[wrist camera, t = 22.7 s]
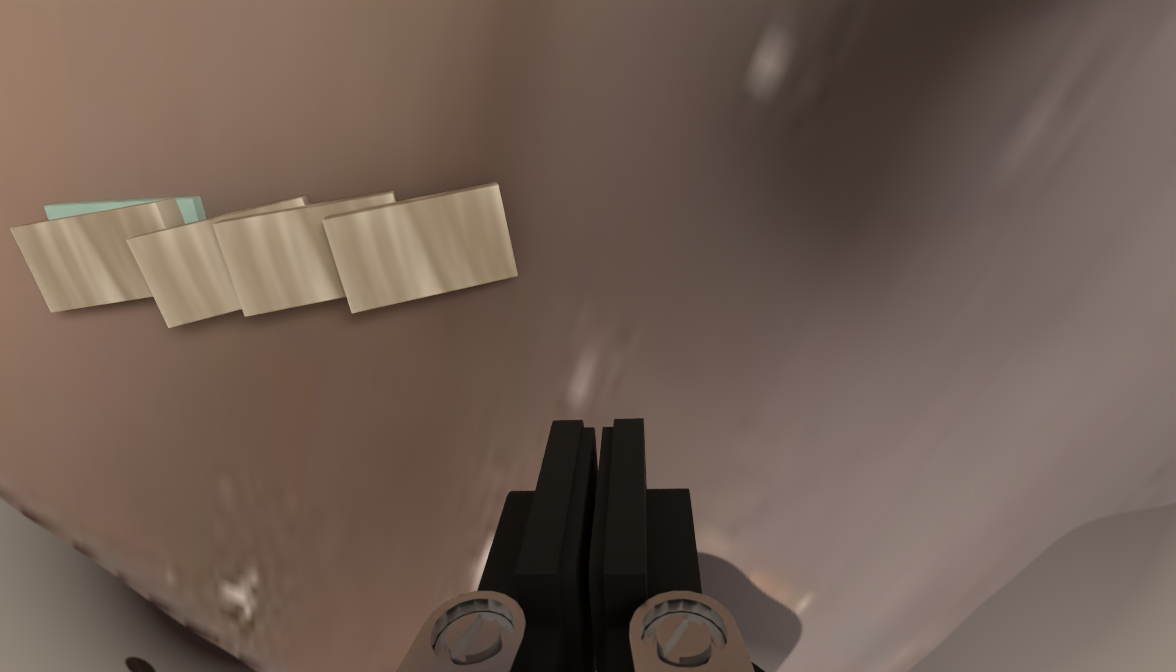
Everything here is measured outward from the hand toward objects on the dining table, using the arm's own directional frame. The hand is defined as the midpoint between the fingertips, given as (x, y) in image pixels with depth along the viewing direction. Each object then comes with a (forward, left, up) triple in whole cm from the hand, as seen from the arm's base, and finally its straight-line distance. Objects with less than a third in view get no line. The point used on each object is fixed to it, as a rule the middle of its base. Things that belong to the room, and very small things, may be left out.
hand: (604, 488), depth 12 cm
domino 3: (+15, +9, -24) cm, 30 cm away
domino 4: (+22, +12, -24) cm, 34 cm away
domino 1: (+6, +3, -24) cm, 25 cm away
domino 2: (+10, +6, -24) cm, 27 cm away
